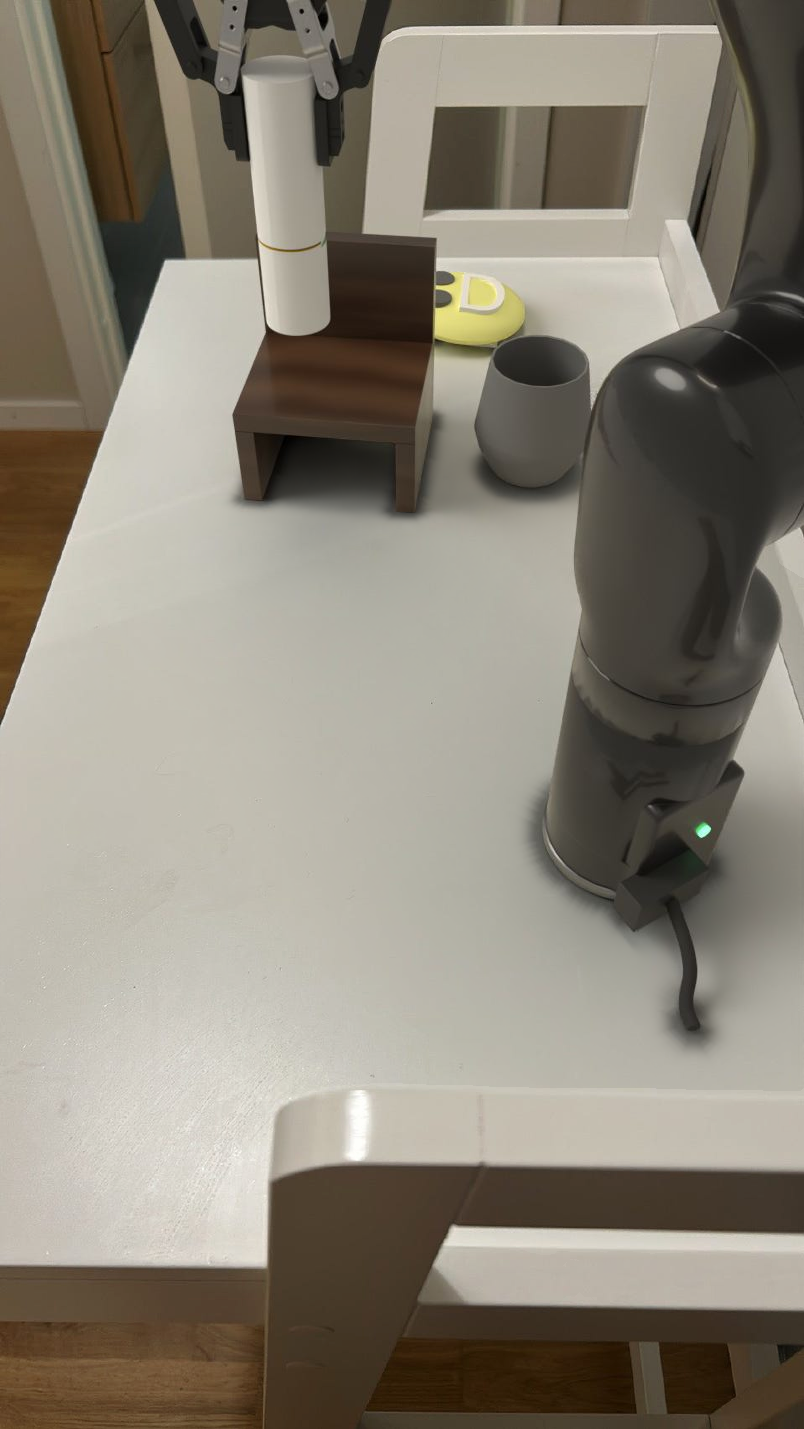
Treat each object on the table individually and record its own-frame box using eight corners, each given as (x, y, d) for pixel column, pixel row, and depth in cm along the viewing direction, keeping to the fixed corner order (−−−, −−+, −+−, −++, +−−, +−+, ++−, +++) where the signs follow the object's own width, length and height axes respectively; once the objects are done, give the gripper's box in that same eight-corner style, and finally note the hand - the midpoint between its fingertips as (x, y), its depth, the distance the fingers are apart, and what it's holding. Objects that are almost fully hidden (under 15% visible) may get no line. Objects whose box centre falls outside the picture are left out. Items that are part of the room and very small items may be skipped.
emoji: (529, 265, 104) (409, 251, 104) (527, 329, 96) (397, 313, 96) (523, 302, 107) (406, 288, 107) (520, 367, 99) (394, 352, 99)
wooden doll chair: (414, 513, 84) (416, 328, 72) (244, 499, 85) (217, 315, 73) (432, 417, 93) (436, 237, 81) (278, 406, 94) (259, 227, 82)
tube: (306, 342, 68) (288, 89, 57) (253, 324, 70) (225, 73, 58) (342, 313, 71) (332, 64, 59) (290, 296, 72) (269, 50, 60)
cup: (605, 484, 86) (625, 376, 79) (507, 515, 84) (517, 406, 76) (547, 424, 92) (560, 318, 84) (453, 451, 89) (457, 344, 82)
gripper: (85, -212, 47) (152, 180, 60) (398, -203, 46) (398, 193, 59) (131, -241, 52) (185, 127, 65) (416, -234, 51) (412, 139, 64)
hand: (286, 157), depth 62 cm, fingers closed on tube, 4 cm apart
